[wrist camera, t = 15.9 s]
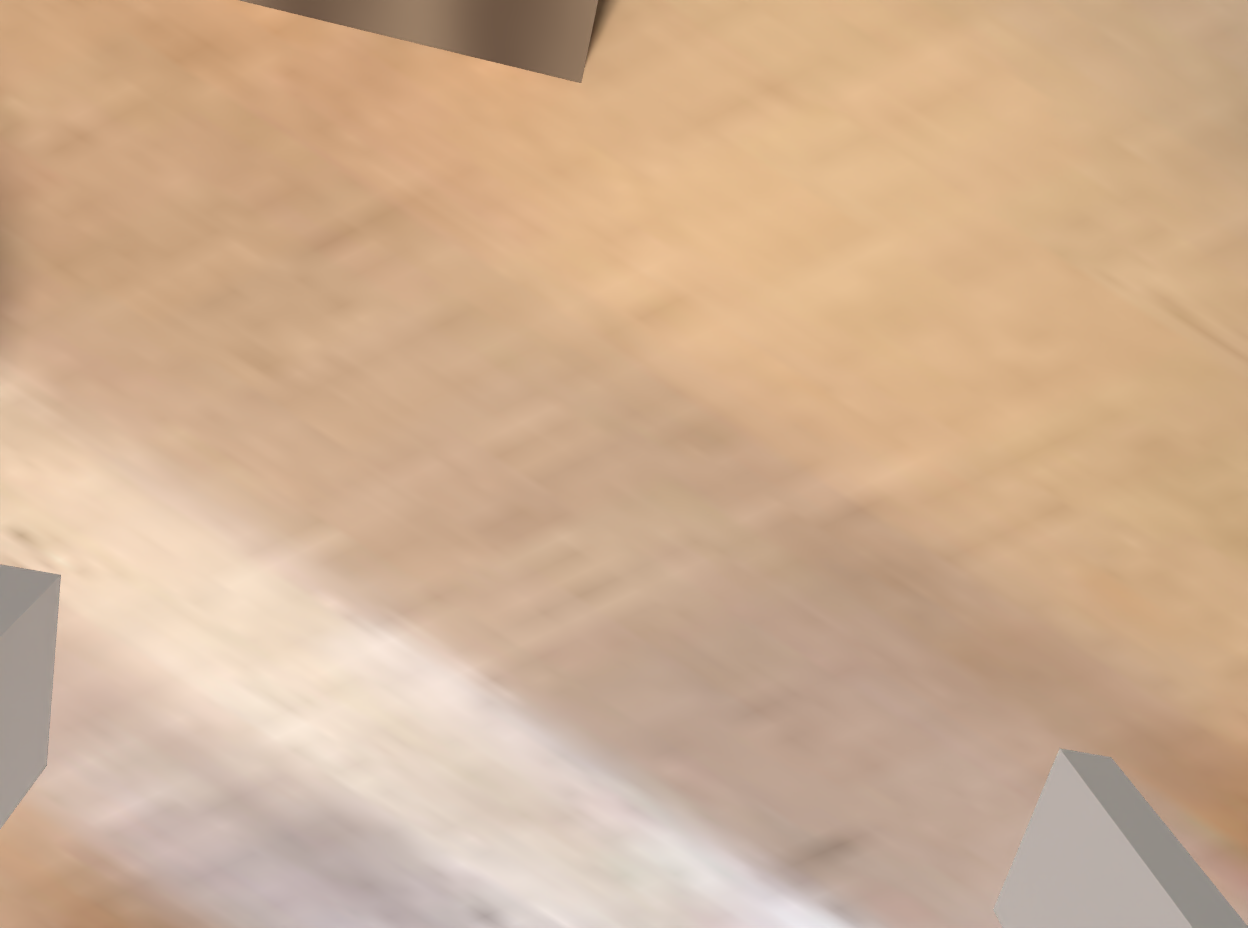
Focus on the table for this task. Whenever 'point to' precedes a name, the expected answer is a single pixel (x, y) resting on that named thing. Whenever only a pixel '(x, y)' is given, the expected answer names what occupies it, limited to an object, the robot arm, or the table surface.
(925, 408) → the table surface
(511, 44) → the walnut shelf
